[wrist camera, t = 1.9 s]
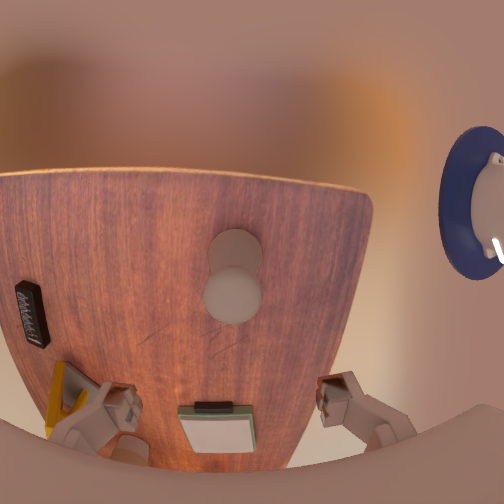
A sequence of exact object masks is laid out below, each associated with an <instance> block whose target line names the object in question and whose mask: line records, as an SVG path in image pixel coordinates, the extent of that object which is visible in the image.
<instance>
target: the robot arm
mask: <svg viewBox="0 0 504 504" xmlns="http://www.w3.org/2000/svg"><path fill="white" fill-rule="evenodd" d="M471 222H472V227H473V231H474V233H475V236H476V238H477V239H478V241H479V242H480V243H481V245H482V248H483V252H484V256H485V257H486V258H489V259H490V258H492V257H494V256H496V255H498V256H499V259H500V262H502V263H504V258H503V256H504V157H503V156H501V155H500V154H498V153H496V152H492V153H491V154H490V157H489V160H488V163H487V165H486V166H485V167H484V168H483V169H482V171H481V172H480V173H479V175H478V177H477V179H476V182H475V185H474V188H473V192H472V198H471ZM317 384H318V387H319V388H318V389H317V390H316V402H317V406H318V409H319V410H320V411H321V420H322V423H323V427H324V428H325V427H330V426H336V425H342V424H343V426H344V427H345V428H347V429H348V430H349V431H350V432H352V433H353V434H354V435H355V436H357V437H358V438H359V439H361V440H362V441H363V442H364V443H366V444H367V447H366V449H365V451H364V453H362V454H359V455H354V456H351V457H346V458H342V459H338V460H334V461H329V462H324V463H319V464H313V465H307V466H301V467H294V468H286V469H278V470H267V471H253V472H193V471H179V470H169V469H160V468H153V467H146V466H140V465H134V464H129V463H124V462H119V461H114V460H110V459H106V458H102V457H100V456H99V455H98V453H97V451H99V450H100V449H101V448H102V447H103V446H104V445H105V444H106V443H107V442H108V441H110V440H111V439H112V438H113V437H114V436H115V435H116V434H117V433H118V432H119V430H120V431H128V432H136V429H137V426H138V423H139V422H138V420H137V418H138V417H139V416H140V415H141V413H142V408H143V404H142V400H141V398H140V396H138V395H137V394H136V391H137V389H136V387H135V385H132V384H125V383H117V382H108V381H105V382H103V384H102V386H101V387H100V389H99V391H98V393H97V395H96V397H95V399H94V401H93V403H92V404H91V403H89V404H87V405H86V406H84V407H83V408H81V409H79V410H78V411H76V412H74V413H73V414H71V415H70V416H68V417H66V418H65V419H63V420H61V421H60V422H58V423H56V425H55V427H54V429H53V431H52V432H51V434H50V436H49V438H48V440H46V439H43V438H41V437H38V436H36V435H34V434H31V433H29V432H27V431H25V430H23V429H20V428H18V427H16V426H14V425H12V424H10V423H8V422H7V421H5V420H2V419H0V504H504V411H503V410H501V409H498V408H495V407H492V406H489V405H485V404H479V405H476V406H474V407H472V408H471V409H469V410H467V411H465V412H463V413H462V414H460V415H458V416H456V417H454V418H452V419H450V420H448V421H446V422H444V423H442V424H440V425H438V426H436V427H433V428H431V429H429V430H427V431H424V432H422V433H420V434H417V432H416V430H415V428H414V426H413V425H412V423H411V421H410V419H409V418H408V416H407V415H405V414H403V413H402V412H400V411H398V410H396V409H394V408H392V407H390V406H388V405H386V404H384V403H382V402H380V401H378V400H377V399H375V398H373V397H371V396H369V395H364V393H363V391H362V389H361V387H360V385H359V383H358V381H357V379H356V377H355V375H354V374H353V372H352V371H348V372H343V373H339V374H333V375H328V376H322V377H318V381H317Z"/></svg>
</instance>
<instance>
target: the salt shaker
mask: <svg viewBox="0 0 504 504" xmlns="http://www.w3.org/2000/svg"><path fill="white" fill-rule="evenodd" d="M207 255H208V261H209V267H210V272H211V275H210V276H209V277H208V279H207V281H206V284H205V287H204V290H203V298H204V304H205V308H206V309H207V311H208V312H209V313H210V315H211V316H212V317H213V318H215V319H217V320H219V321H220V322H222V323H228V324H239V323H242V322H246V321H248V320H249V319H250V318H252V317H253V316H254V315H255V314H257V311H258V309H259V307H260V304H261V301H262V292H261V285H260V282H259V281H258V279H257V278H256V277H257V274H258V271H259V268H260V266H261V263H262V260H263V255H262V247H261V245H260V244H259V242H258V240H257V239H256V237H255V236H253V235H252V234H250V233H249V232H247V231H245V230H241V229H233V228H232V229H229V230H226V231H223V232H220V233H219V234H218V235H217V236H216V237H215V238H214V239H213V240H212V241H211V243H210V246H209V249H208V252H207Z"/></svg>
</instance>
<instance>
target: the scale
mask: <svg viewBox="0 0 504 504" xmlns="http://www.w3.org/2000/svg"><path fill="white" fill-rule="evenodd" d="M177 415H178V418H179V420H180V423H181V425H182V427H183V429H184V432H185V434H186V436H187V438H188V441H189V443H190V445H191V447H192V449H193V450H194V452H200V453H242V452H254V450H256V438H255V430H254V422H253V413H252V406H251V405H248V406H233V405H232V402H195V405H194V407H189V406H179V408H178V413H177Z"/></svg>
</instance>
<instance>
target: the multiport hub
mask: <svg viewBox="0 0 504 504" xmlns="http://www.w3.org/2000/svg"><path fill="white" fill-rule="evenodd" d="M15 292H16V297H17V302H18V307H19V312H20V316H21V320H22V324H23V328H24V332H25V335H26V339H27V341H28V342H29V343H31V344H33V345H35V346H37V347H39V348H42V349H45V348H46V346H47V345H48V344H49V343H50V342H51V340H50V336H49V332H48V328H47V323H46V318H45V313H44V307H43V302H42V295H41V289H40V286H39V285H36V284H33V283H31V282H28V281H25V280H23V281H21V282H20V283H18V284H17V285H15Z"/></svg>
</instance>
